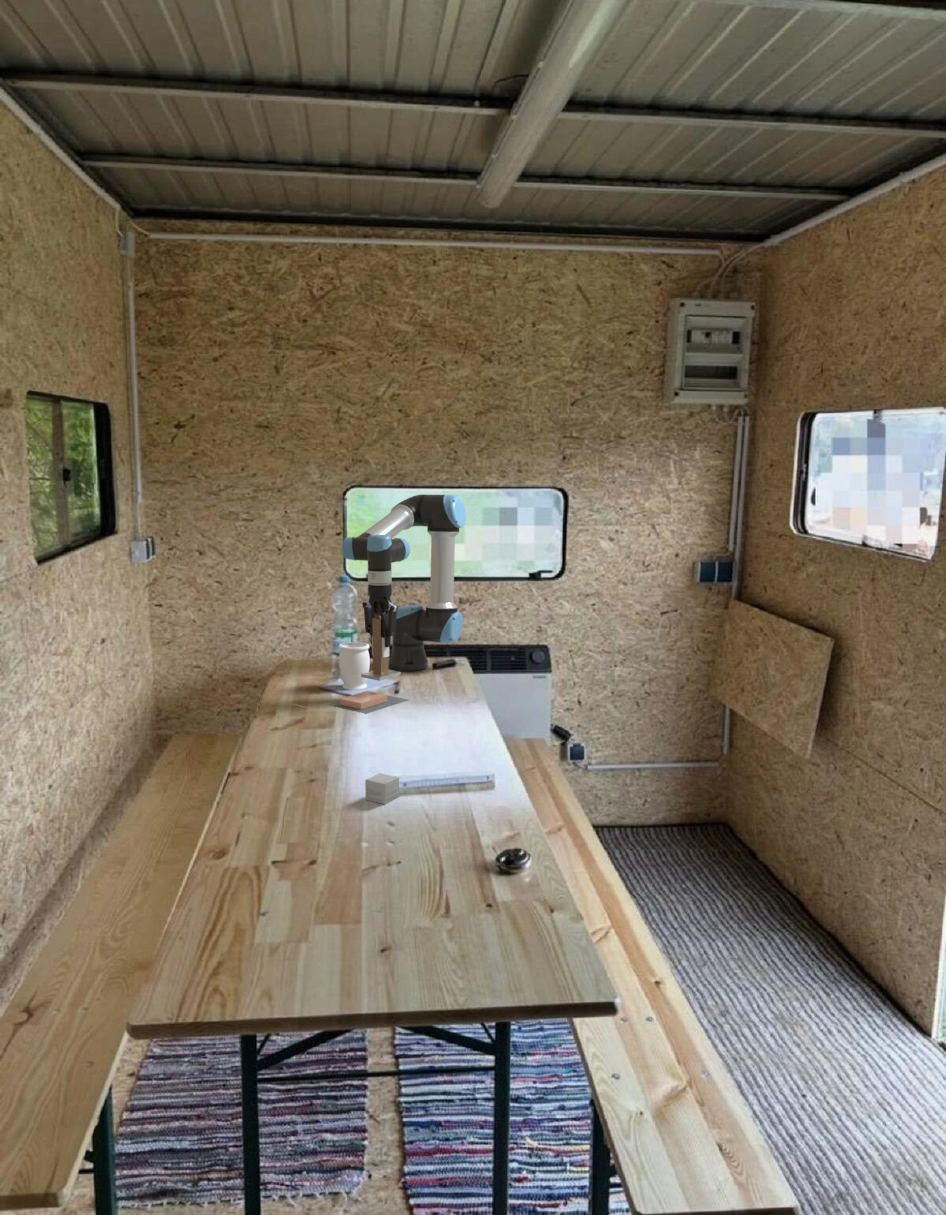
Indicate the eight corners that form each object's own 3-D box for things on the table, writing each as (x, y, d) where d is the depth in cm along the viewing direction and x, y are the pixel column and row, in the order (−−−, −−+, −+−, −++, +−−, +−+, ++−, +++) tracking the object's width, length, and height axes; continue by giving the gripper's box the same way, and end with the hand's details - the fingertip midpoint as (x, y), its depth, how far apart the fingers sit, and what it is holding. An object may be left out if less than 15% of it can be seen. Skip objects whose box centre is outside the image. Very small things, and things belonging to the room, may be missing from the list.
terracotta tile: (366, 690, 281) (339, 698, 272) (387, 695, 276) (360, 703, 266) (366, 697, 282) (340, 705, 272) (387, 701, 276) (361, 710, 267)
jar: (335, 685, 298) (334, 643, 296) (364, 682, 303) (363, 640, 300) (344, 693, 289) (343, 649, 287) (374, 689, 293) (373, 646, 291)
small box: (400, 797, 198) (399, 776, 197) (385, 805, 193) (384, 784, 192) (379, 792, 201) (379, 772, 200) (364, 800, 196) (364, 779, 195)
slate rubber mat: (370, 693, 289) (370, 691, 289) (409, 701, 279) (409, 699, 279) (326, 706, 273) (326, 704, 273) (366, 715, 263) (366, 713, 263)
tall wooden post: (382, 671, 286) (381, 614, 283) (400, 674, 281) (399, 617, 278) (361, 677, 278) (360, 618, 275) (379, 680, 273) (378, 621, 270)
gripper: (352, 582, 277) (353, 654, 280) (391, 587, 267) (392, 661, 271) (368, 580, 283) (369, 650, 286) (407, 584, 273) (407, 657, 277)
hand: (380, 655), depth 279 cm, fingers closed on tall wooden post, 3 cm apart
